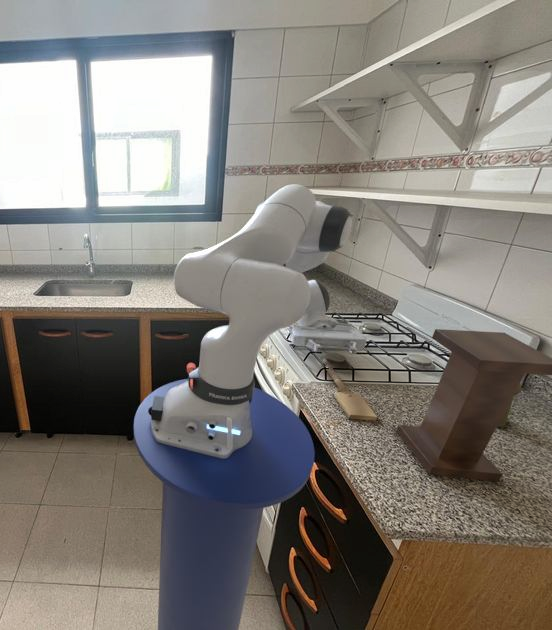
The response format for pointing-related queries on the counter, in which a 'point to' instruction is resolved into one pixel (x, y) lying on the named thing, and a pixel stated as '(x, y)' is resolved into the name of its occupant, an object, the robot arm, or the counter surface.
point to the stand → (471, 401)
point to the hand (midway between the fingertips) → (336, 350)
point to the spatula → (351, 401)
